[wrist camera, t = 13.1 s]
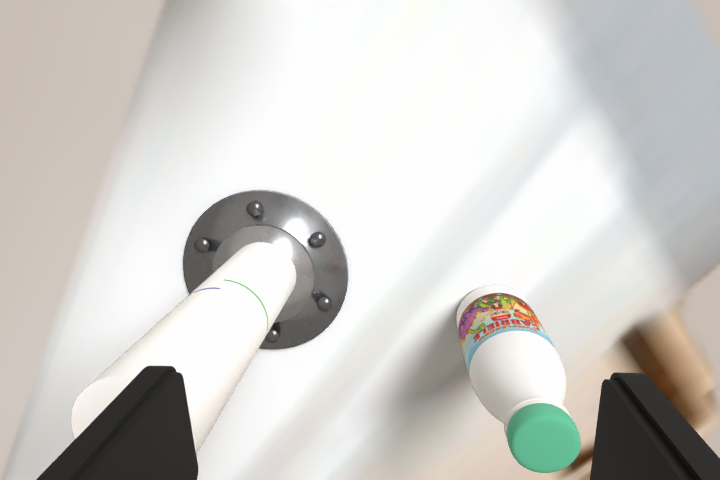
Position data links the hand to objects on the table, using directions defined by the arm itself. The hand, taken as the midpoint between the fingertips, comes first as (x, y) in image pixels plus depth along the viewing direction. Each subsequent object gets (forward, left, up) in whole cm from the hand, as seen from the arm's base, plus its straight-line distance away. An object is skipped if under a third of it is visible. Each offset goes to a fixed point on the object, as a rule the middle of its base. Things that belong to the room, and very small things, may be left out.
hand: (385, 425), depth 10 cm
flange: (+10, -15, -38) cm, 42 cm away
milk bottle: (+16, +9, -38) cm, 42 cm away
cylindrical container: (+9, -15, -37) cm, 41 cm away
